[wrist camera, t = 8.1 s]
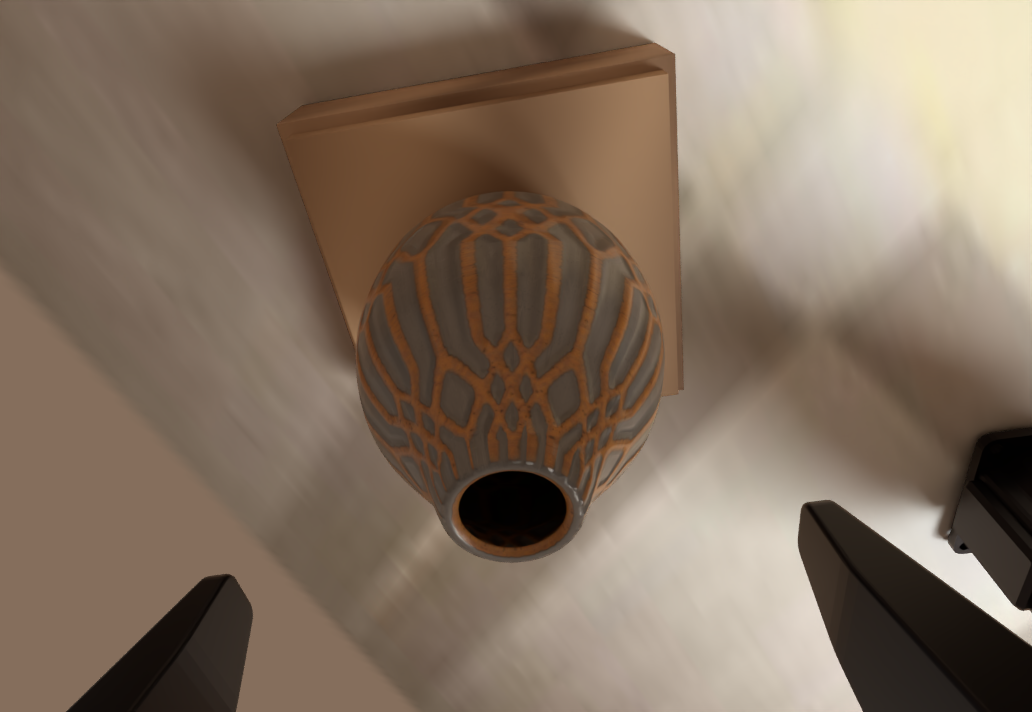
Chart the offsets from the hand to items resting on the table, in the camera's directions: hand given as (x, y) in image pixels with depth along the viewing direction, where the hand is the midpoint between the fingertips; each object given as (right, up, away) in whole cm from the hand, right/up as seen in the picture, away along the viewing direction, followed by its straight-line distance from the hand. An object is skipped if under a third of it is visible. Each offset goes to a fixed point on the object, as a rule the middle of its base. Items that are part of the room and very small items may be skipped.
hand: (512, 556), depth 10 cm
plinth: (0, +7, +10) cm, 12 cm away
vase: (0, +5, +8) cm, 10 cm away
